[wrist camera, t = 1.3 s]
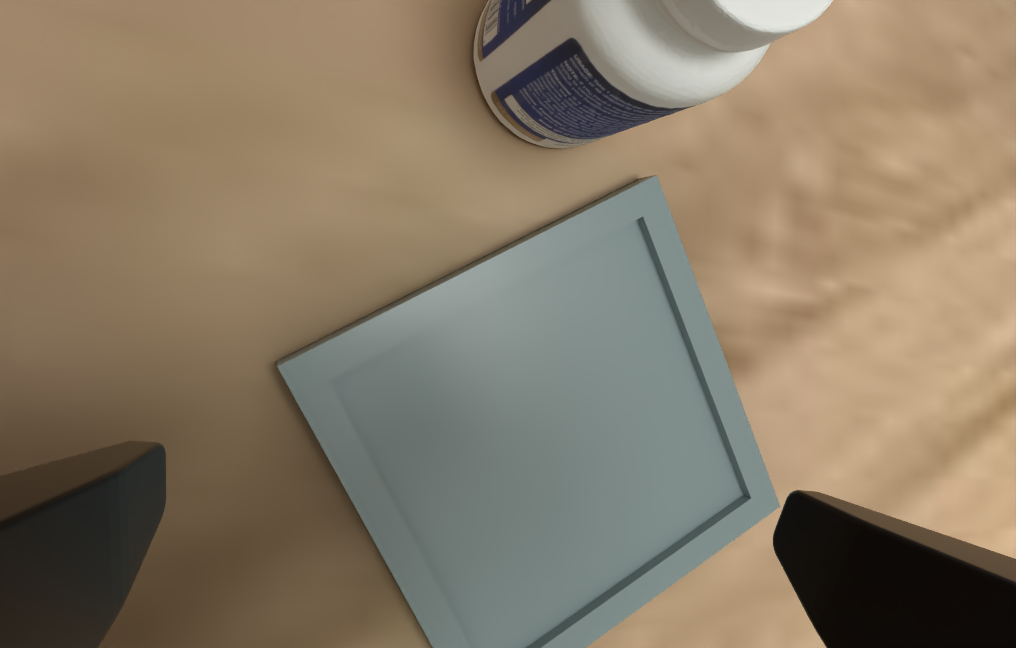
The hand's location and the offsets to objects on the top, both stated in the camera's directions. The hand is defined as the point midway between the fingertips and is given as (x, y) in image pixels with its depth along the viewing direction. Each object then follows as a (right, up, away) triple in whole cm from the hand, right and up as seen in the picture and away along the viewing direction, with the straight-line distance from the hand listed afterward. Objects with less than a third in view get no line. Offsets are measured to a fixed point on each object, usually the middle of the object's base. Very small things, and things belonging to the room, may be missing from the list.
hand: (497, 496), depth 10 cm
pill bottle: (+1, +11, +12) cm, 16 cm away
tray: (+2, -1, +13) cm, 13 cm away
